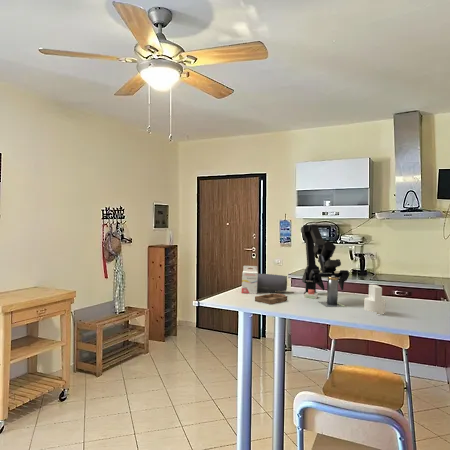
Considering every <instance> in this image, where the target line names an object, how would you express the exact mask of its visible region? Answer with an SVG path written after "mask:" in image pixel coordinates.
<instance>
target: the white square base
mask: <svg viewBox="0 0 450 450" xmlns="http://www.w3.org/2000/svg"><path fill="white" fill-rule="evenodd" d="M303 294H304V293H303ZM303 297H304V299H313V300H316V299H318V298H319V293H318V292H317V293H314V294H308V292H306V293H305V294H304V295H303Z"/></svg>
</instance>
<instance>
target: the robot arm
mask: <svg viewBox="0 0 450 450" xmlns="http://www.w3.org/2000/svg"><path fill="white" fill-rule="evenodd" d="M319 228H320V227H319V225H318V224H315V223H314V224H303V226H301V227H300V232H301V237H302V238H303V240H304V241H305V252H306V255H305V256H306V267H305V269H304V272H303V275H302V278H301V280H302V283H303V284H305V288H304V289H305V291H304V292H303V294H305V293H306V292H308V290H309V289H312V290H314V293H318V292H317V285H318V286H319V287H320V288H321V289H322V290H323V291H324V290H325V285H324V283H323V279H322V278H328V276H335V277H338V286H340V289H341V291H344V285H345V282H346V281H347V280H348V278H349V276H350V271H349V270H346V269H340V271H339V272H338V273H337V272H336V271H337V269H336V268H339V267H340V266H342V262H341V259H337V258H336V259H331V258H332V257H333V255H334V253H335V251H336V248H337V247H336V245H335V244H334V243H333V242H331V240H324V239H323V237H322V234H321V231H320V229H319ZM316 255H317V256H318V258H317V259H318V260H317V263H319V266H317V264H316Z"/></svg>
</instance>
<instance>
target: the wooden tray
mask: <svg viewBox="0 0 450 450" xmlns="http://www.w3.org/2000/svg"><path fill="white" fill-rule="evenodd" d="M277 294H278V293H267V294H262V295H255V296H254V302H258V303H261V304H265V305H267V304H268V305H273V304H279V303H283V302H288V295H287V296H286V295H285V296H283V295H277Z"/></svg>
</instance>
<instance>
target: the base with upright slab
mask: <svg viewBox="0 0 450 450" xmlns="http://www.w3.org/2000/svg"><path fill="white" fill-rule="evenodd" d="M363 301H364V302H363V305H364V306H363V309H364V311H366V312H372V313H376V315H377V314H383V313H385V314H386V299H384V298H383V287H381V286H379V285H377V284H368V296H367V297H365V298H364V300H363Z"/></svg>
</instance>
